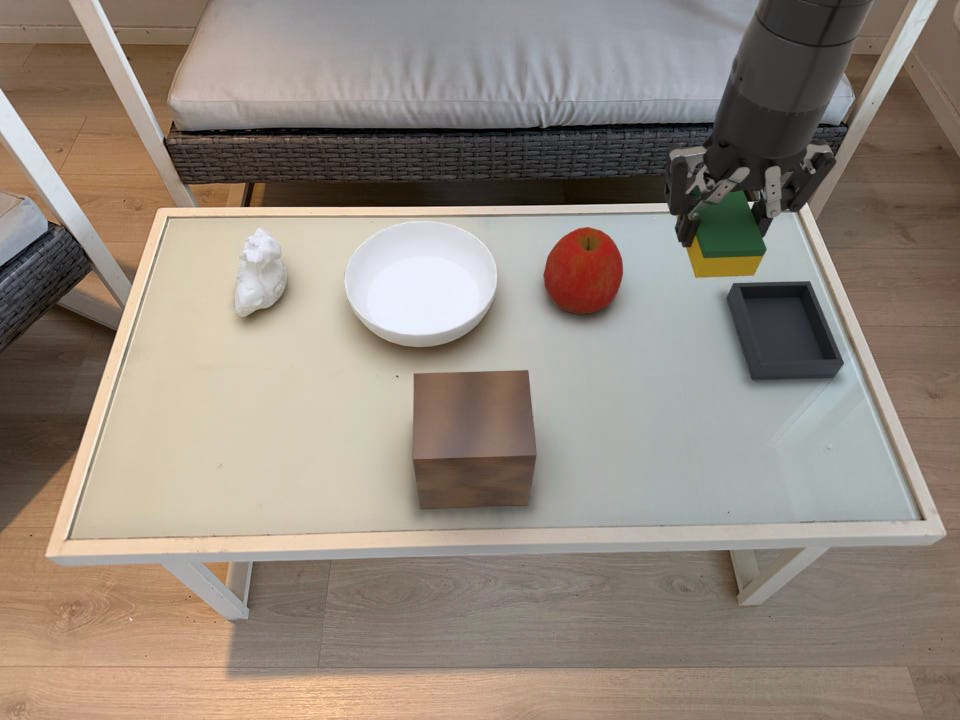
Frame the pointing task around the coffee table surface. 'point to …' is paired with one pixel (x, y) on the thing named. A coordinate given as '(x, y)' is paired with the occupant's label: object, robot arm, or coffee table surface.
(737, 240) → the sponge
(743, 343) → the tray
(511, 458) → the wooden block
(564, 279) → the apple
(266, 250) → the bust
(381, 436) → the coffee table surface
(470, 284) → the bowl
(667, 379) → the coffee table surface
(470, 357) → the coffee table surface
